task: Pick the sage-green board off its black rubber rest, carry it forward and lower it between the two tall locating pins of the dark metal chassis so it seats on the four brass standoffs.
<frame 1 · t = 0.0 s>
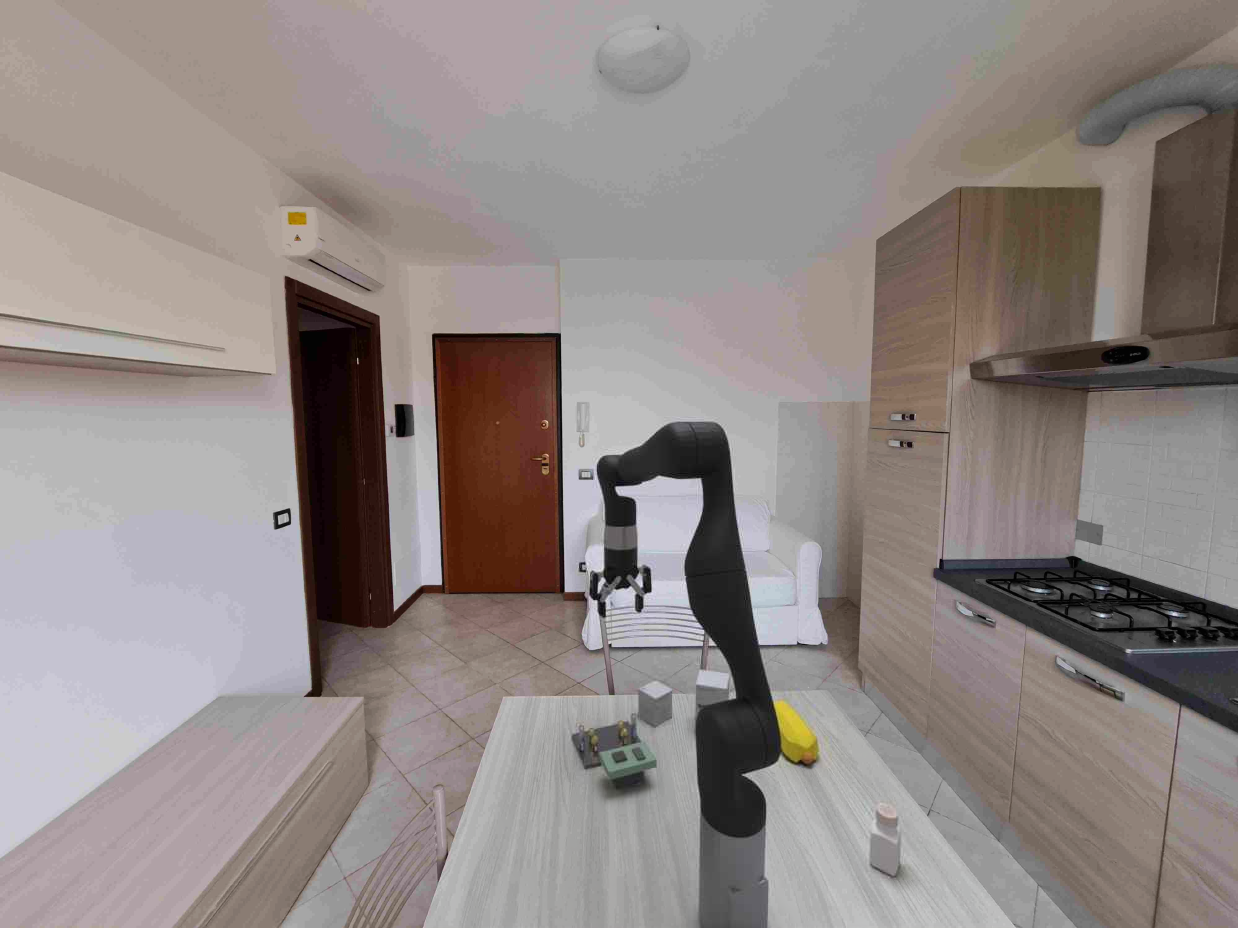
hand: (620, 613, 111), 29 cm above the table, fingers open, 8 cm apart
supplement box: (711, 729, 117), on the table
board: (627, 763, 99), point 4 cm above the table, touching rest
product box: (654, 717, 122), on the table
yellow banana: (788, 742, 112), on the table
rest: (627, 781, 100), on the table
chassis: (608, 745, 111), on the table
salt shaker: (884, 864, 81), on the table
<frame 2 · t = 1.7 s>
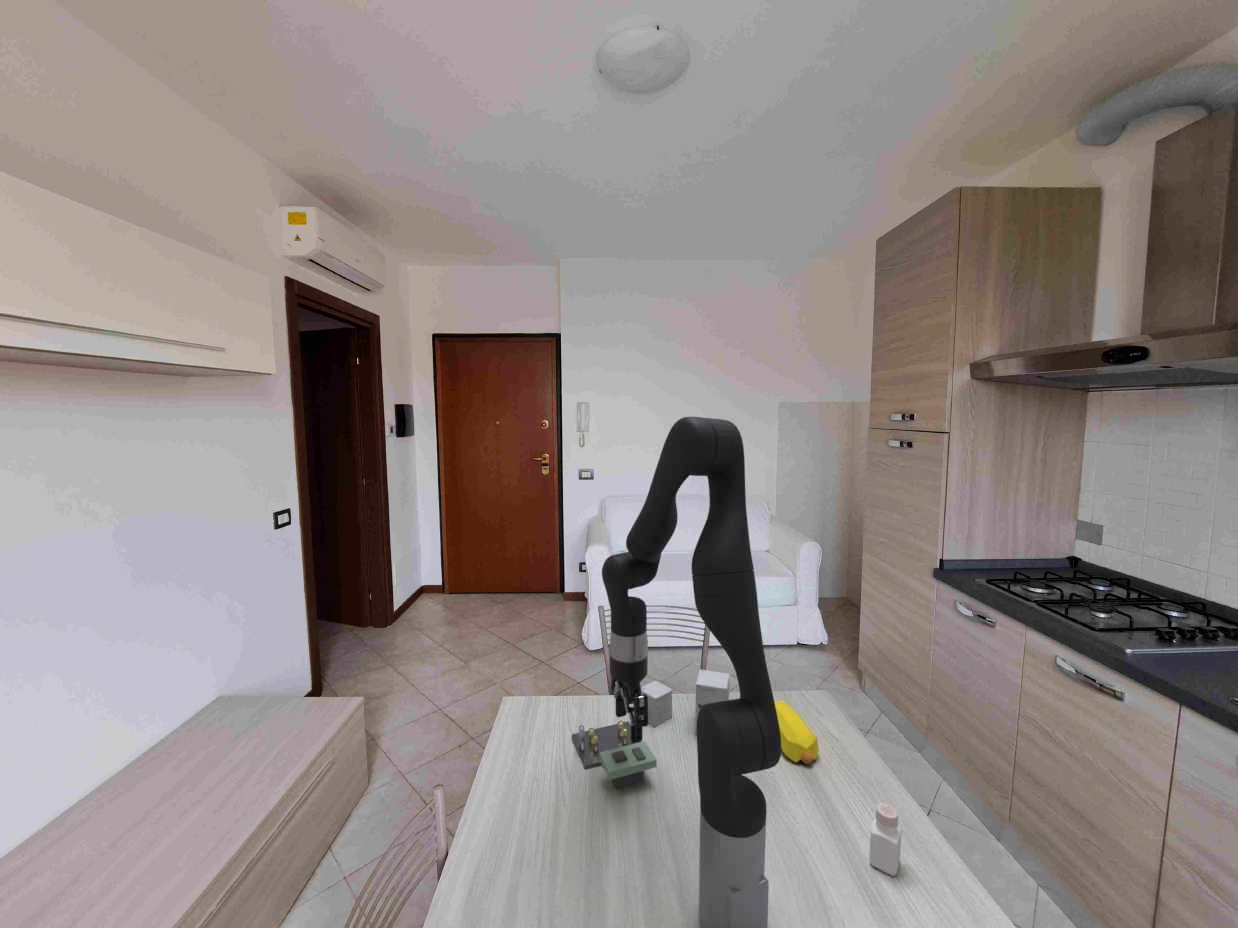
hand: (628, 727, 99), 11 cm above the table, fingers open, 8 cm apart
nothing on the table moved.
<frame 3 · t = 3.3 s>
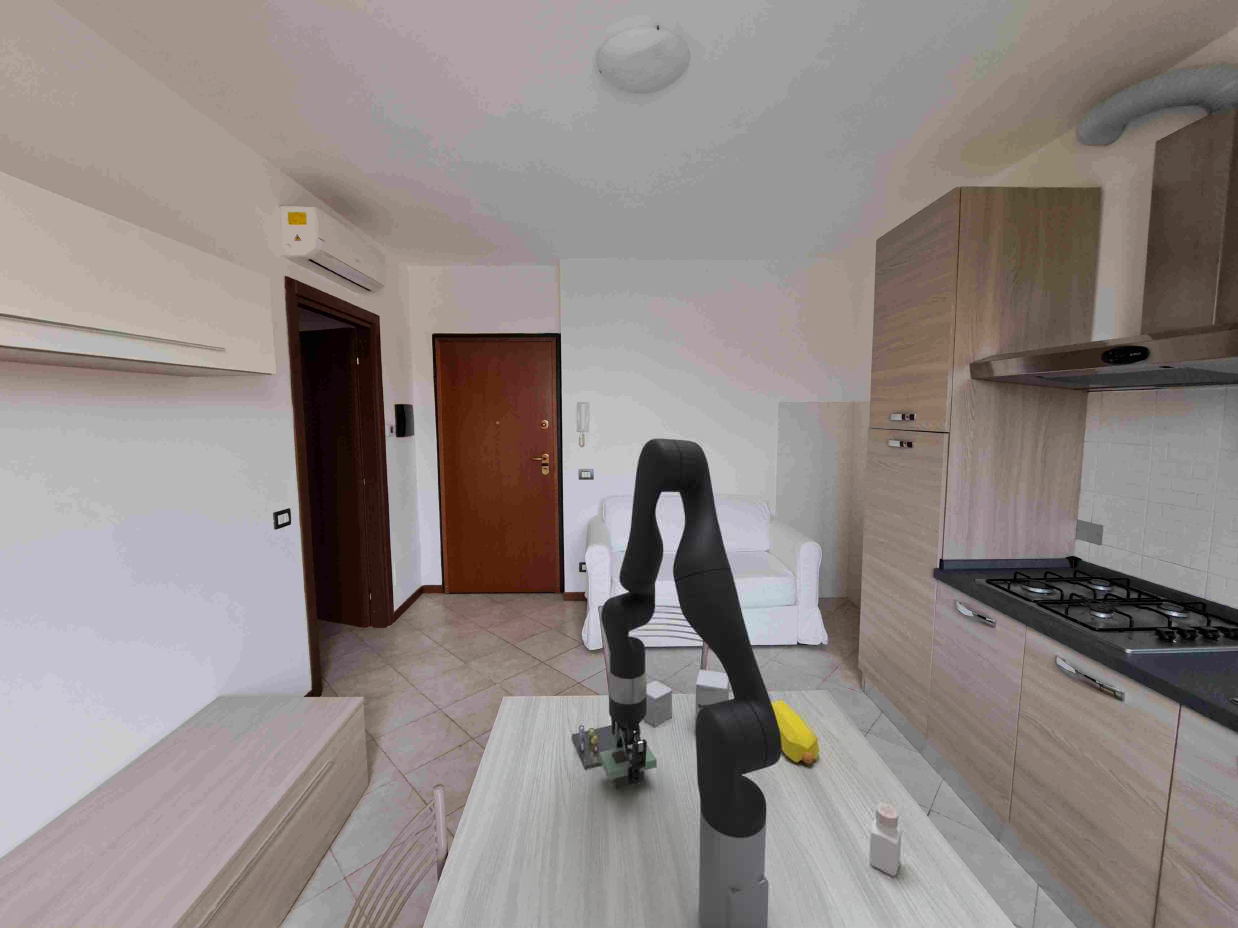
hand: (627, 770, 100), 3 cm above the table, fingers closed on board, 6 cm apart
board: (627, 763, 99), point 4 cm above the table, touching gripper, rest
everything else where it was.
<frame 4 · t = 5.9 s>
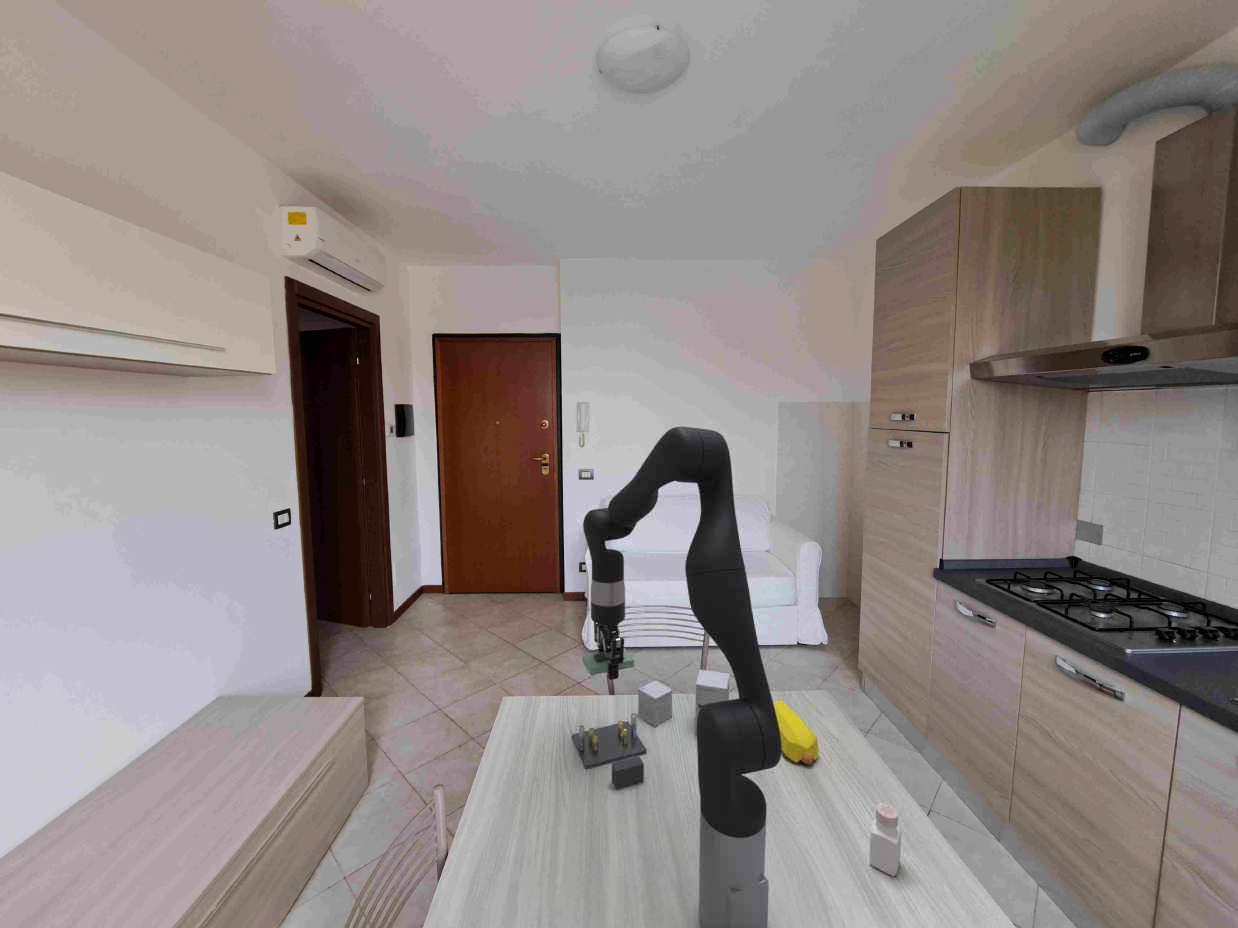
hand: (608, 670, 109), 17 cm above the table, fingers closed on board, 6 cm apart
board: (608, 664, 109), point 19 cm above the table, touching gripper
everything else where it was.
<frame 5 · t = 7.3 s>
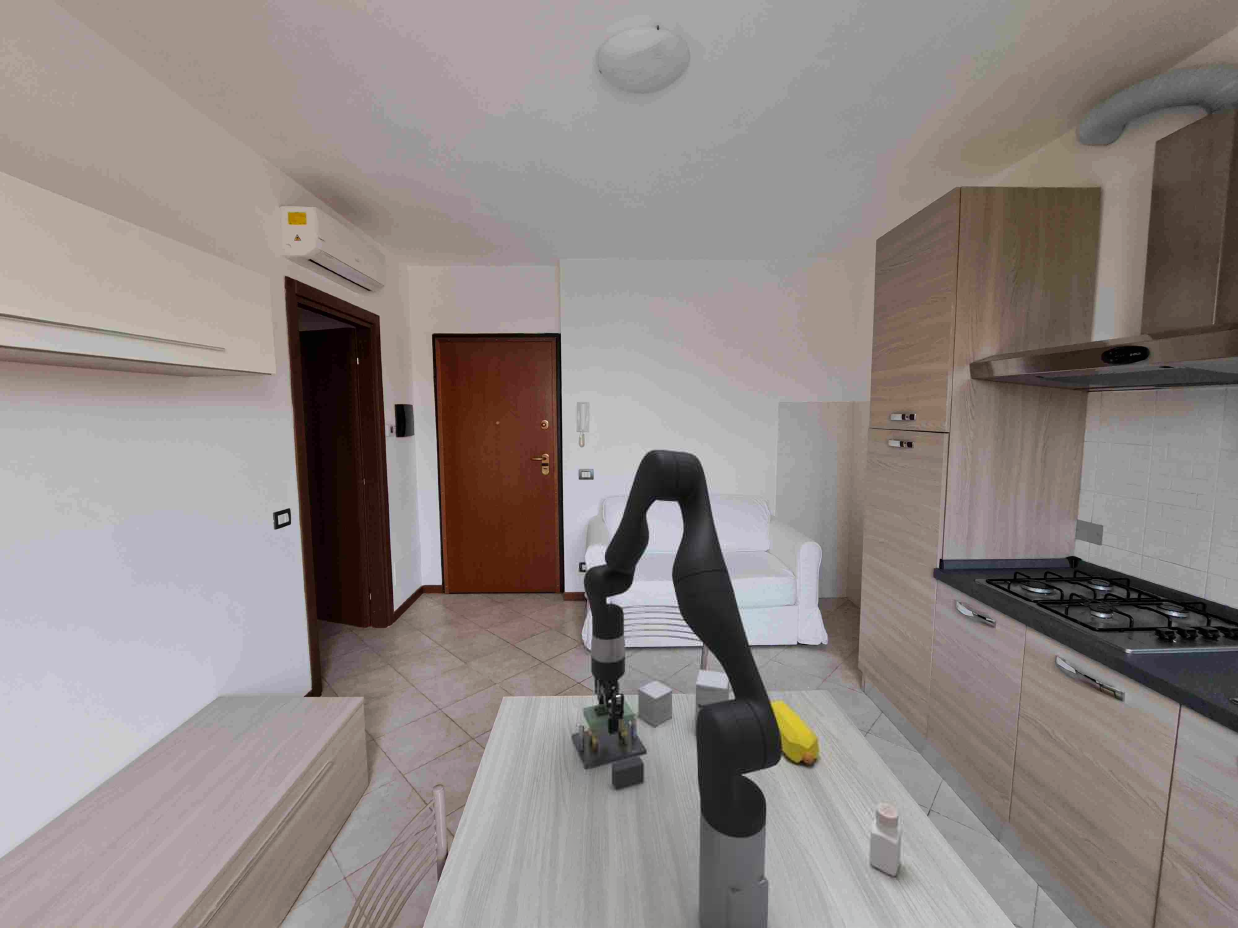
hand: (608, 723, 111), 5 cm above the table, fingers closed on board, 6 cm apart
board: (608, 717, 110), point 7 cm above the table, touching gripper
everything else where it was.
when the fingers open (4 cm above the table, at t = 8.4 s): board drops 1 cm, resting on chassis.
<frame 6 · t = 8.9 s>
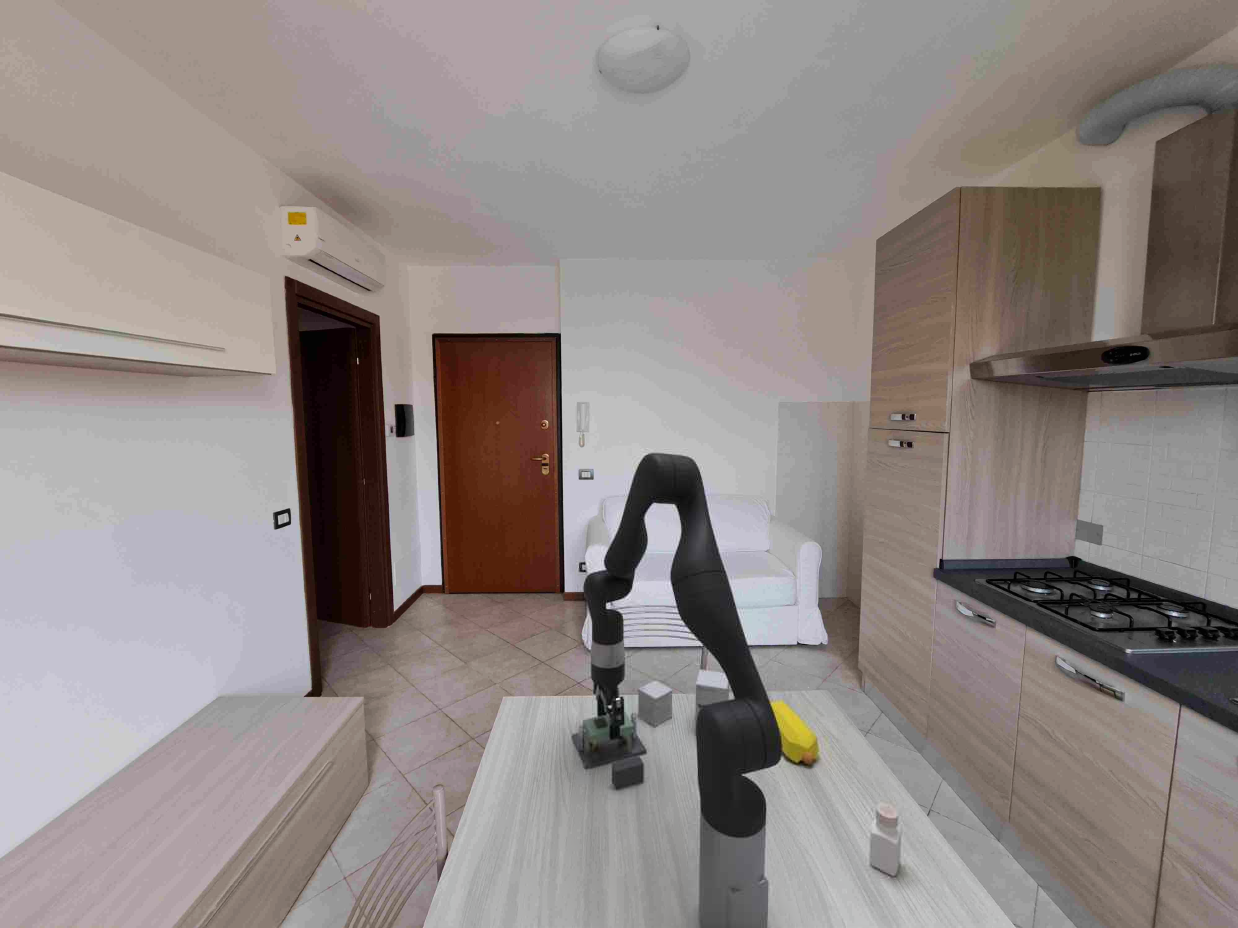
hand: (608, 727, 111), 4 cm above the table, fingers open, 8 cm apart
board: (608, 729, 111), point 4 cm above the table, touching chassis
everything else where it was.
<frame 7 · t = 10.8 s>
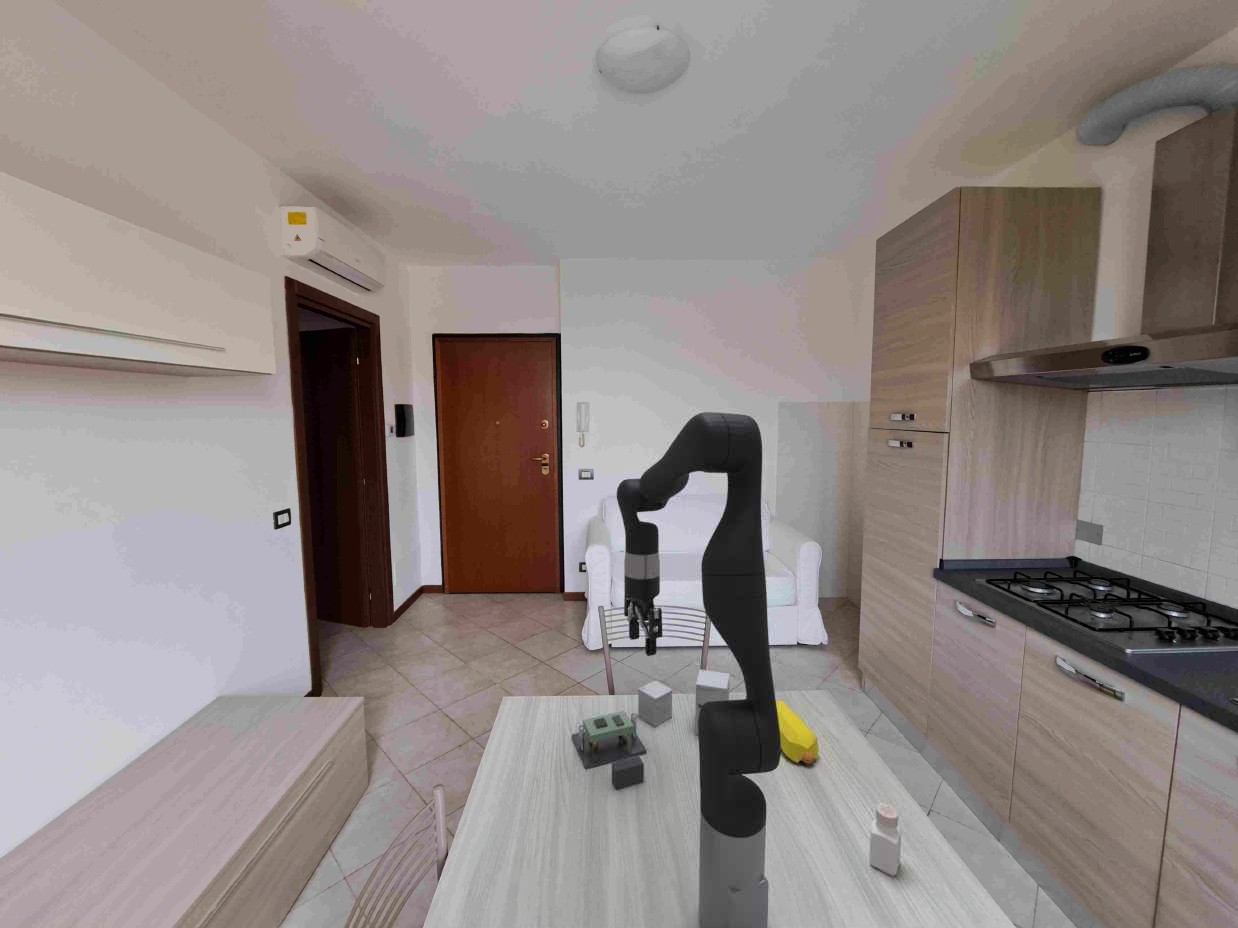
hand: (642, 646, 106), 25 cm above the table, fingers open, 8 cm apart
nothing on the table moved.
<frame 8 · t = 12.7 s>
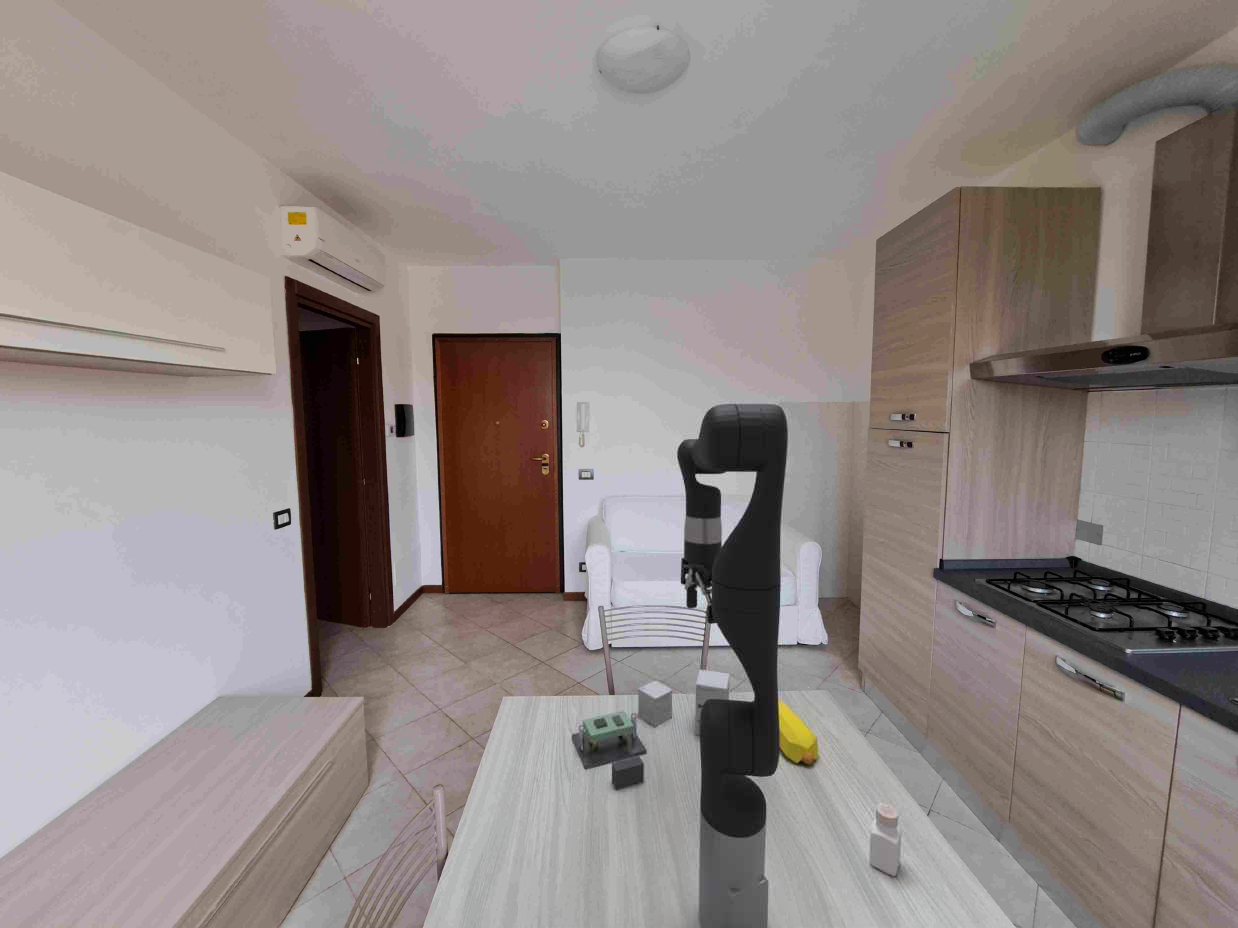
hand: (701, 614, 101), 33 cm above the table, fingers open, 8 cm apart
nothing on the table moved.
at the end: board 0.0 cm off-centre on the chassis, point 3.8 cm above the chassis's base; board tilted 0°; the gripper is holding nothing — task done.
